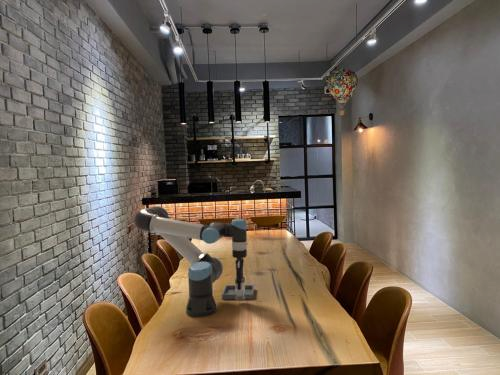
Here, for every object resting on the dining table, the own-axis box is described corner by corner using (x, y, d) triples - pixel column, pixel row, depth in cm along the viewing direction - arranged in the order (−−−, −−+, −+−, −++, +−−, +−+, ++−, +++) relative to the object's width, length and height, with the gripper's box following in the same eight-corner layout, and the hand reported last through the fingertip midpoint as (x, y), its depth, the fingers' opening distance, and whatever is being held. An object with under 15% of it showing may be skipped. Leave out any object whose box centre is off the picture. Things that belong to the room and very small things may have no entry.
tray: (222, 299, 199) (221, 294, 199) (225, 289, 215) (225, 285, 215) (252, 299, 198) (252, 294, 198) (254, 289, 214) (254, 285, 214)
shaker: (234, 299, 191) (234, 280, 190) (235, 296, 196) (235, 277, 195) (244, 299, 190) (244, 280, 190) (245, 296, 195) (245, 277, 195)
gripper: (245, 253, 182) (245, 299, 184) (247, 245, 200) (248, 287, 202) (230, 253, 183) (230, 299, 184) (234, 245, 201) (234, 287, 202)
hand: (239, 293), depth 193 cm, fingers closed on shaker, 5 cm apart
